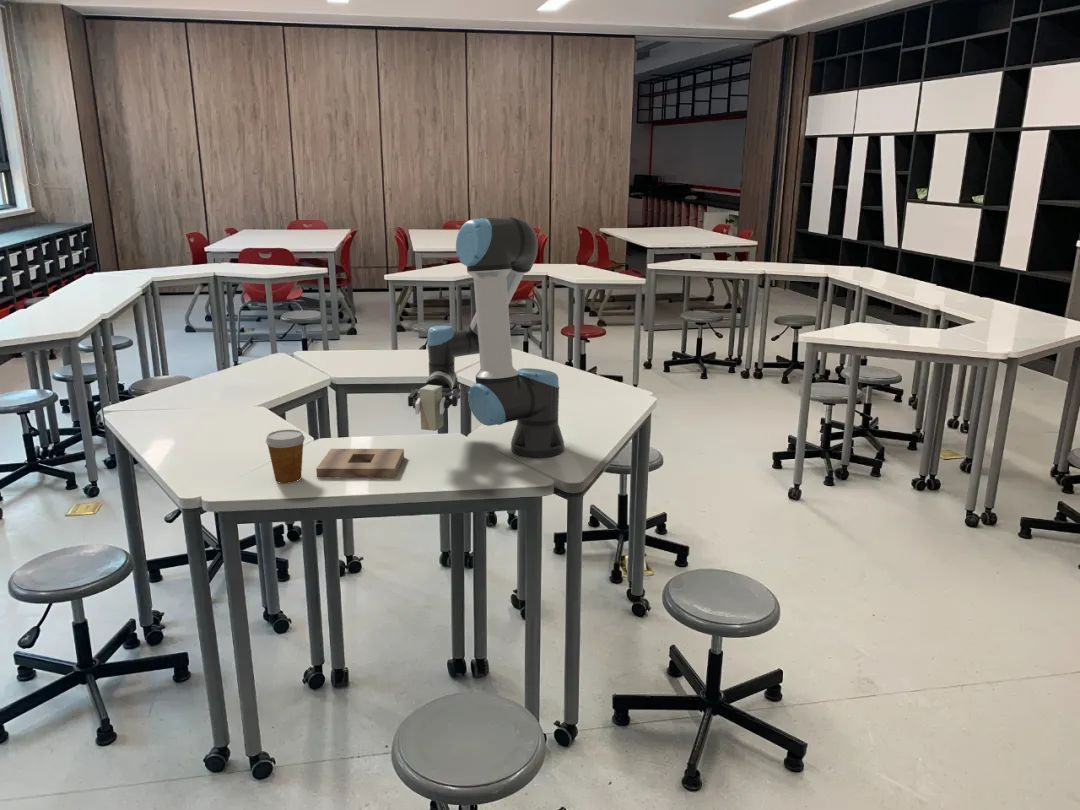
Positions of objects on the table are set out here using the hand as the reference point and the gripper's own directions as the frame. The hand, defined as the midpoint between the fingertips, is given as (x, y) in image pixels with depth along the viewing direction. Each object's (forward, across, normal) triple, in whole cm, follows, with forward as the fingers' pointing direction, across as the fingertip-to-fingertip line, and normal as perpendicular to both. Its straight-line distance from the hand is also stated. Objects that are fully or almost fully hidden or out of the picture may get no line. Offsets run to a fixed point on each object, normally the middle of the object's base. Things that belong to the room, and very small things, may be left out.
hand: (429, 409), depth 207 cm
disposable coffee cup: (+4, +36, -18) cm, 40 cm away
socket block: (-5, +19, -17) cm, 26 cm away
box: (-5, 0, -7) cm, 8 cm away
